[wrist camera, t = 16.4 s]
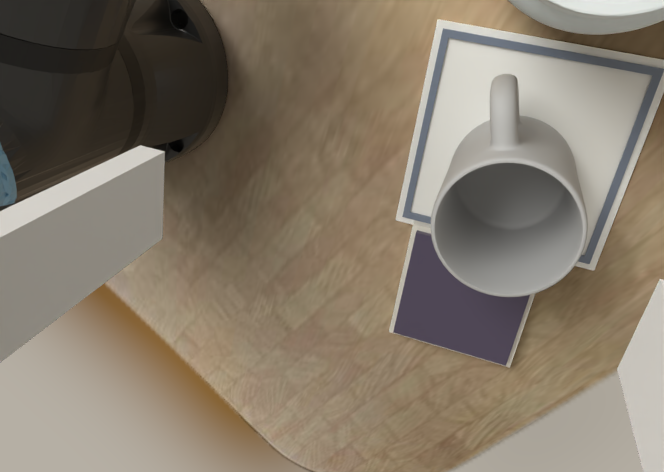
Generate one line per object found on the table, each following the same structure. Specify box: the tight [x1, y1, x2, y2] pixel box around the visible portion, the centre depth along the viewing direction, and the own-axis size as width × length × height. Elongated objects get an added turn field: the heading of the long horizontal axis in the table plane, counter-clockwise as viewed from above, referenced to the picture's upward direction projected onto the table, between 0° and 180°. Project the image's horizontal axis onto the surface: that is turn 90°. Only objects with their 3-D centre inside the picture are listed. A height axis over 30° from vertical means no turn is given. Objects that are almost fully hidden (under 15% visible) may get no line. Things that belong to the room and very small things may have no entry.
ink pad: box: [389, 220, 535, 368], centre depth 46 cm, size 10×10×2 cm
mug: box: [431, 74, 588, 297], centre depth 37 cm, size 12×8×11 cm
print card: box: [396, 19, 664, 271], centre depth 41 cm, size 15×15×1 cm
